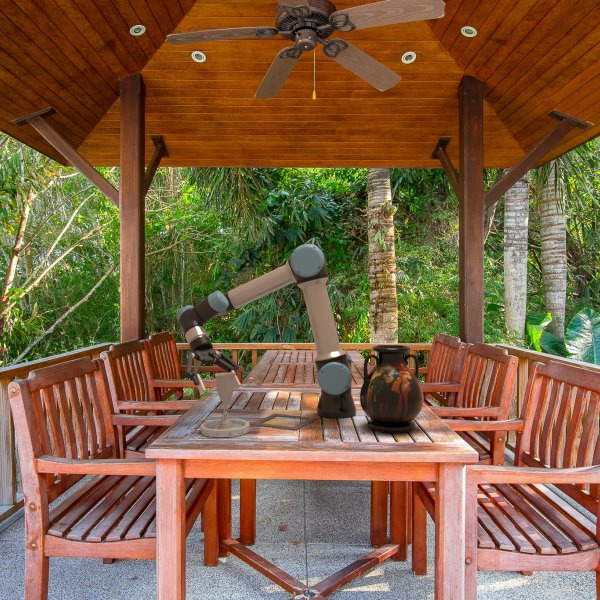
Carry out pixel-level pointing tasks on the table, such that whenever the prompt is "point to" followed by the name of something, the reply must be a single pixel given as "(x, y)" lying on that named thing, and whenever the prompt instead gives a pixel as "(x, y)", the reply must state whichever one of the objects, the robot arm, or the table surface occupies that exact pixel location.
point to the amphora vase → (391, 390)
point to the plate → (212, 430)
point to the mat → (307, 421)
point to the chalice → (225, 395)
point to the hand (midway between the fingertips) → (221, 389)
